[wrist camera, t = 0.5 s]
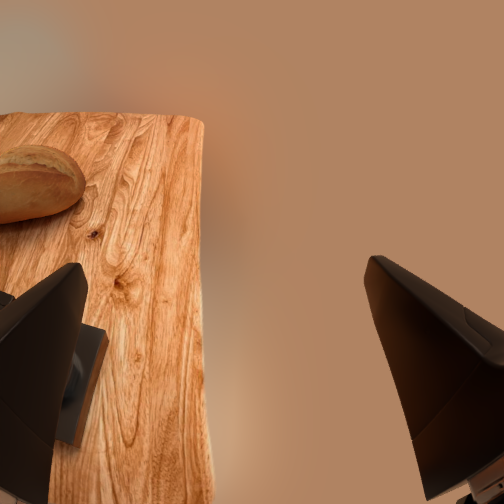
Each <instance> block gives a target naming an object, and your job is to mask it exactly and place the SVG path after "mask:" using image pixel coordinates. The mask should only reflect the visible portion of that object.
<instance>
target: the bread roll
mask: <svg viewBox="0 0 504 504" xmlns="http://www.w3.org/2000/svg"><path fill="white" fill-rule="evenodd" d="M85 186H86V182H85V177H84V175H83V173H82V171H81V169H80V168H79V166H78V164H77V163H76V161H75V160H74V159H73V158H71V157H70V156H69V155H67V154H66V153H65V152H63V151H60V150H58V149H56V148H53V147H49V146H42V145H27V146H19V147H15V148H12V149H10V150H8V151H6V152H4V153H3V154H1V155H0V224H4V223H10V222H17V221H21V220H27V219H32V218H37V217H44V216H48V215H52V214H56V213H58V212H61V211H63V210H65V209H67V208H69V207H70V206H72V205H73V204H75V203H76V202H77V201H78V200H79V199H80V198H81V196H82V195H83V193H84V191H85Z"/></svg>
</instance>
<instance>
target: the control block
mask: <svg viewBox="0 0 504 504" xmlns="http://www.w3.org/2000/svg"><path fill="white" fill-rule="evenodd" d="M108 343H109V340H108V337H107V334H106V331H105V330H103V329H99V328H96V327H93V326H89V325H86V324H83V323H81V327H80V332H79V335H78V339H77V343H76V346H75V350H74V353H73V357H72V361H71V365H70V369H69V373H68V377H67V381H66V386H65V390H64V394H63V399H62V404H61V409H60V414H59V419H58V425H57V430H56V436H55V439H57V440H59V441H62V442H64V443H67V444H69V445H72V446H75V447H77V448H80V446H81V441H82V437H83V433H84V428H85V424H86V420H87V416H88V412H89V408H90V404H91V401H92V397H93V393H94V390H95V386H96V383H97V379H98V376H99V372H100V369H101V366H102V362H103V359H104V356H105V353H106V349H107V346H108Z"/></svg>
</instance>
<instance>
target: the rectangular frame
mask: <svg viewBox="0 0 504 504" xmlns="http://www.w3.org/2000/svg"><path fill="white" fill-rule="evenodd" d="M14 300H15V297H14V296H12V295H10V294H7V293H5V292H2V291H0V310H2V309H3V308H4V307H6V306H7V305H8V304H10V303H11V302H13V301H14Z"/></svg>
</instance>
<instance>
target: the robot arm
mask: <svg viewBox="0 0 504 504" xmlns="http://www.w3.org/2000/svg"><path fill="white" fill-rule="evenodd" d="M364 286H365V289H366V293H367V297H368V301H369V304H370V309H371V313H372V317H373V320H374V324H375V327H376V330H377V332H378V335H379V338H380V341H381V344H382V347H383V350H384V352H385V355H386V358H387V361H388V364H389V367H390V370H391V373H392V376H393V379H394V382H395V385H396V389H397V392H398V395H399V398H400V401H401V405H402V408H403V411H404V415H405V418H406V421H407V425H408V429H409V432H410V436H411V440H413V441H412V444H413V448H414V451H415V455H416V459H417V463H418V467H419V471H420V476H421V480H422V484H423V488H424V493H425V497H426V500H427V501H429V500H431V499H434V498H436V497H438V496H441V495H443V494H445V493H448V492H450V491H452V490H454V489H456V488H459V487H461V486H463V485H465V484H467V483H468V484H469V487H470V490H471V493H470V494H468V495H466V496H464V497H463V498H461V499H459V500H458V501H457V502H456V504H504V331H503V330H501V329H500V328H498V327H496V326H495V325H493V324H491V323H490V322H488V321H486V320H485V319H483V318H482V317H480V316H478V315H477V314H475V313H474V312H472V311H471V310H469V309H468V308H466V307H463V305H461V304H460V303H458V302H457V301H455V300H454V299H452V298H451V297H449V296H448V295H446V294H444V293H443V292H441V291H440V290H438V289H437V288H435V287H433V286H432V285H430V284H429V283H427V282H425V281H424V280H422V279H420V278H419V277H417V276H416V275H414V274H413V273H411V272H409V271H408V270H406V269H404V268H403V267H401V266H399V265H398V264H396V263H394V262H393V261H391V260H389V259H388V258H386V257H384V256H382V255H378V256H371V257H370V258H369V260H368V264H367V268H366V272H365V275H364ZM87 293H88V284H87V280H86V277H85V274H84V271H83V268H82V266H81V264H80V263H67V264H66V265H64V266H63V267H61V268H60V269H58V270H57V271H55V272H54V273H52V274H51V275H49V276H48V277H46V278H45V279H43V280H42V281H41V282H39V283H38V284H36V285H35V286H33V287H32V288H31V289H29V290H28V291H26V292H25V293H24V294H22V295H21V296H19V297H18V298H17V299H15V300H14V301H13V302H11V303H10V304H8V305H7V306H6V307H4V308H3V309H2V310H0V504H17V500H19V501H21V502H24V503H26V504H48V493H49V482H50V473H51V465H52V457H53V449H54V442H55V436H56V430H57V425H58V419H59V414H60V409H61V404H62V399H63V394H64V390H65V386H66V381H67V377H68V373H69V369H70V365H71V361H72V357H73V353H74V350H75V346H76V343H77V339H78V335H79V332H80V327H81V322H82V317H83V312H84V307H85V302H86V297H87Z"/></svg>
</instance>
